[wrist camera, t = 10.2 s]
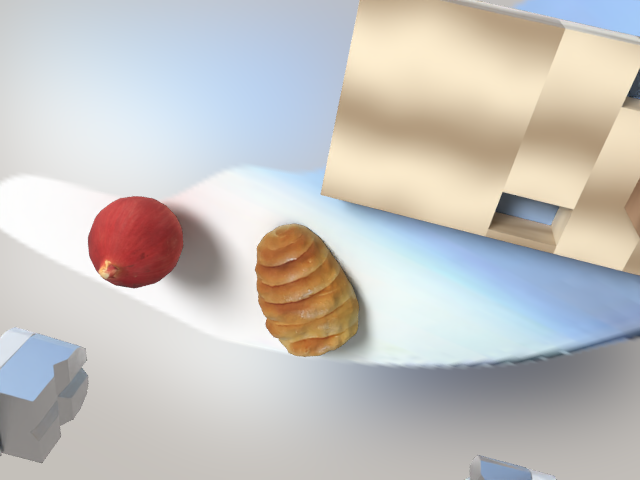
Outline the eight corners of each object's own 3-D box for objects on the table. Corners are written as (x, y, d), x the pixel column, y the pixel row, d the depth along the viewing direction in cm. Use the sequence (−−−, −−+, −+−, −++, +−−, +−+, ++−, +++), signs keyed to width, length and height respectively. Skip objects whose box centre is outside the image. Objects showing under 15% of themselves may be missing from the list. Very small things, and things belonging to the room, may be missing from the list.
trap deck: (369, -24, 32) (354, -8, 27) (796, 71, 30) (858, 106, 25) (328, 177, 38) (310, 218, 33) (678, 265, 37) (710, 321, 32)
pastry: (239, 229, 42) (221, 258, 39) (330, 209, 40) (319, 238, 36) (285, 334, 46) (273, 368, 43) (370, 321, 44) (363, 356, 40)
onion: (200, 257, 43) (152, 326, 37) (124, 242, 44) (64, 307, 37) (199, 184, 40) (147, 246, 34) (119, 170, 41) (52, 227, 34)
